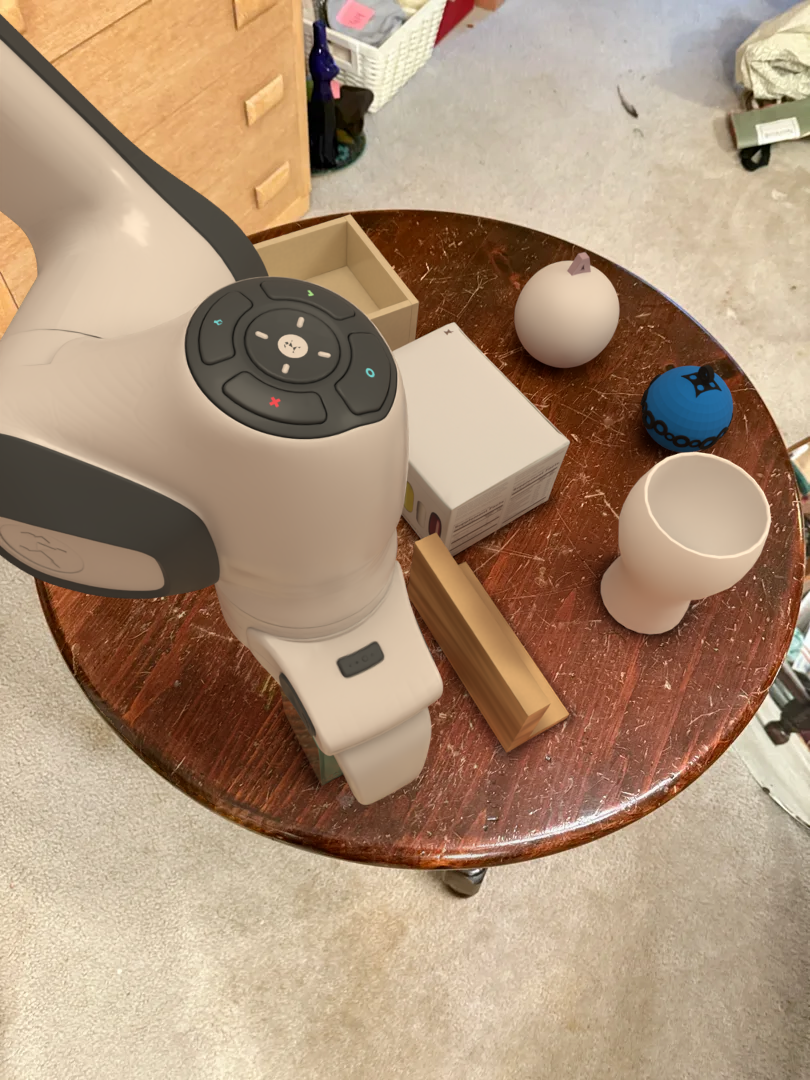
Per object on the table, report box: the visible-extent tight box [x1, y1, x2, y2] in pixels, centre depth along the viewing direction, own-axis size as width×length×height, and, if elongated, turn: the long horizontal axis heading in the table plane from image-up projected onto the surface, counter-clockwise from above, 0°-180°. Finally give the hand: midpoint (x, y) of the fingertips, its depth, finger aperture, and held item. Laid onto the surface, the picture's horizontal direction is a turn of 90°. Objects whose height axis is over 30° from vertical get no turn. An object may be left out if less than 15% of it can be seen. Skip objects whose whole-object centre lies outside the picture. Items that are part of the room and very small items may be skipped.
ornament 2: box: [640, 364, 734, 453], centre depth 78 cm, size 9×9×10 cm
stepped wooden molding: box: [407, 533, 570, 753], centre depth 65 cm, size 6×16×9 cm, turn 30°
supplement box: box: [392, 321, 571, 558], centre depth 75 cm, size 17×13×9 cm
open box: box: [253, 214, 420, 351], centre depth 84 cm, size 19×15×7 cm
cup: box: [600, 451, 772, 635], centre depth 67 cm, size 11×11×15 cm
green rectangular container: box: [279, 685, 344, 787], centre depth 61 cm, size 12×7×12 cm
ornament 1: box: [513, 251, 620, 369], centre depth 83 cm, size 10×10×12 cm
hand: (310, 673), depth 52 cm, fingers closed
